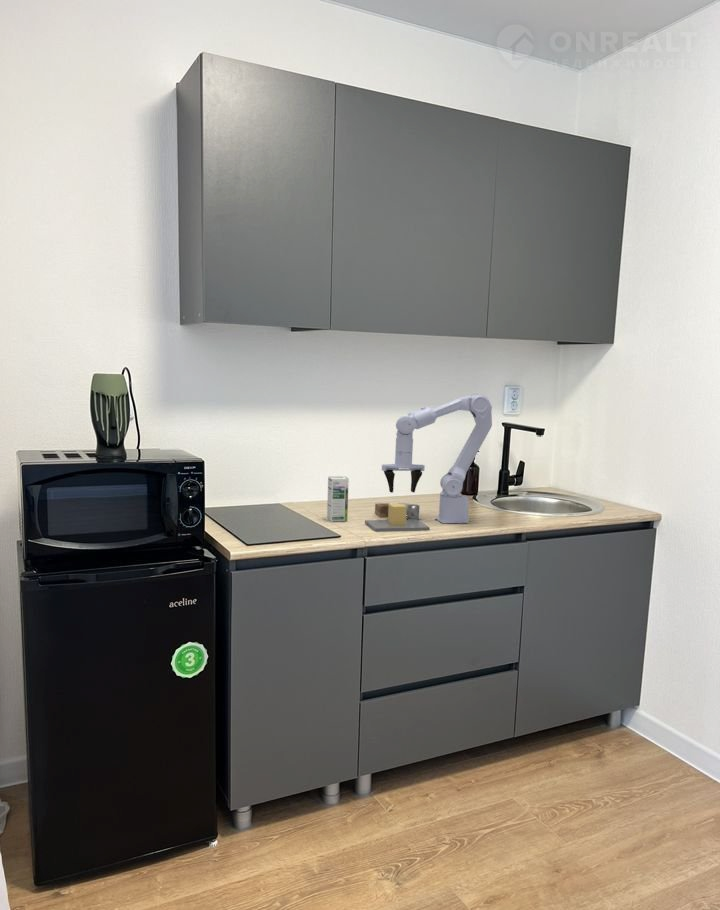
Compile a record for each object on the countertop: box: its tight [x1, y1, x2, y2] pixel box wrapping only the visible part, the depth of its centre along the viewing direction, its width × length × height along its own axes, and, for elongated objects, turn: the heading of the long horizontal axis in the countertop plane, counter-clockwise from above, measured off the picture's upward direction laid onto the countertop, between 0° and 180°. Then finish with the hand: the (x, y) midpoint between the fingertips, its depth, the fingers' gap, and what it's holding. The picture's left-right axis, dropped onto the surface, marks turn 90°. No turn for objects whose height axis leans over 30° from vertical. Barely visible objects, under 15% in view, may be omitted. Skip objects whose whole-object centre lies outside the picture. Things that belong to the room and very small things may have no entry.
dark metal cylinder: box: [406, 503, 420, 521], centre depth 237 cm, size 4×4×5 cm
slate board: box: [364, 519, 431, 533], centre depth 225 cm, size 18×12×1 cm, turn 105°
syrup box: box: [326, 475, 350, 522], centre depth 232 cm, size 6×6×14 cm
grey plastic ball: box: [397, 502, 410, 515], centre depth 244 cm, size 4×4×4 cm
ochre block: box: [387, 503, 407, 525], centre depth 225 cm, size 4×4×6 cm
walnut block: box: [374, 502, 390, 518], centre depth 242 cm, size 5×5×4 cm
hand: (402, 492), depth 236 cm, fingers open, 7 cm apart
